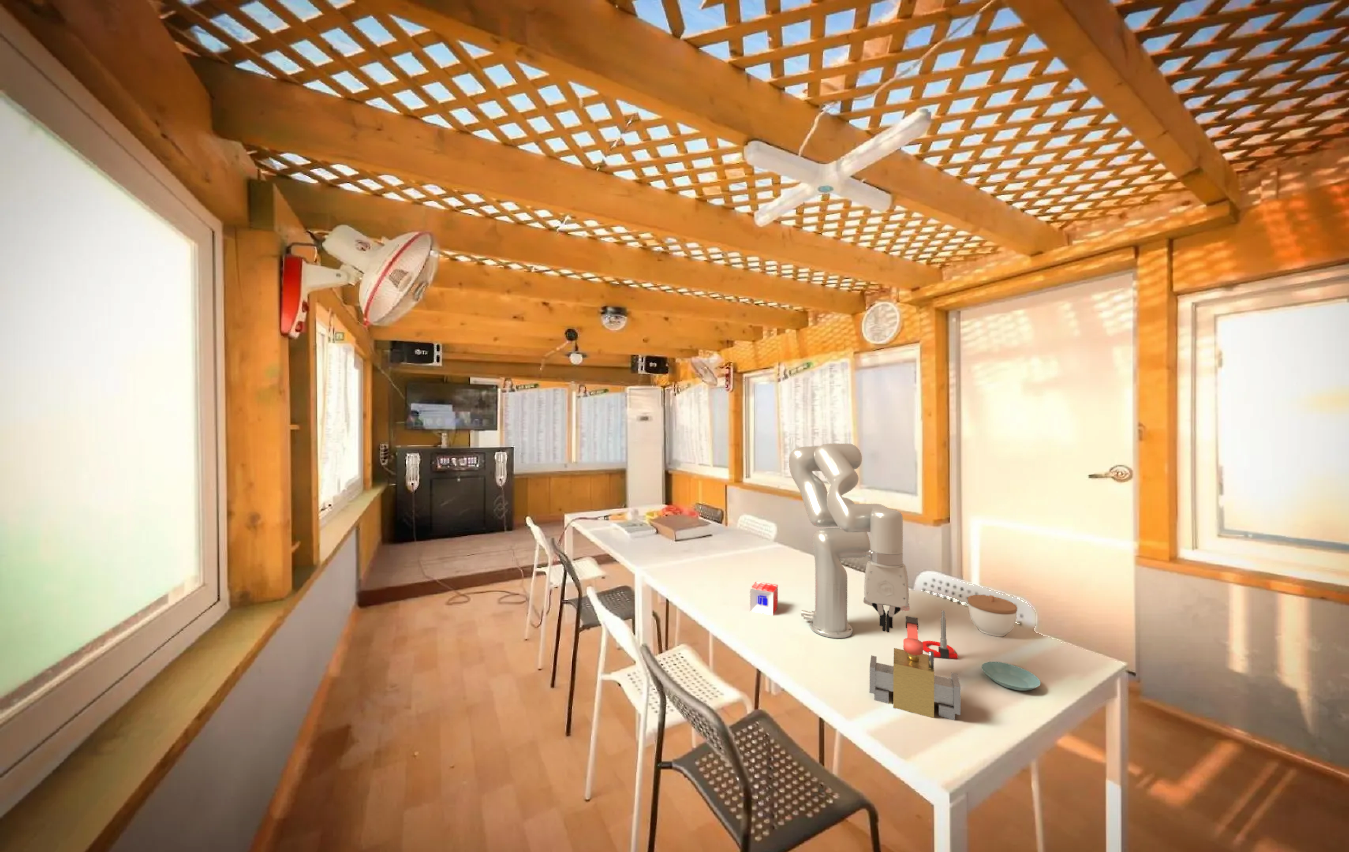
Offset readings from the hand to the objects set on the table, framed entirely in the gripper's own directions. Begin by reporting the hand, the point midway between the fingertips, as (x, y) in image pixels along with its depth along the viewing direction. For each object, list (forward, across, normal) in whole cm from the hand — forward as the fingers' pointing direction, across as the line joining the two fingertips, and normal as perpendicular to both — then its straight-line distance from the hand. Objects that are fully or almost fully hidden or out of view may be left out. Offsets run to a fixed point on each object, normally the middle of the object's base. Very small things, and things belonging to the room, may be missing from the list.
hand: (886, 629), depth 116 cm
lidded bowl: (+12, +29, +43) cm, 53 cm away
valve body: (+12, +6, -10) cm, 16 cm away
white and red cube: (+12, -39, +27) cm, 49 cm away
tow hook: (+12, +13, +21) cm, 27 cm away
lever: (0, +6, -3) cm, 7 cm away
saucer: (+12, +28, +11) cm, 32 cm away
